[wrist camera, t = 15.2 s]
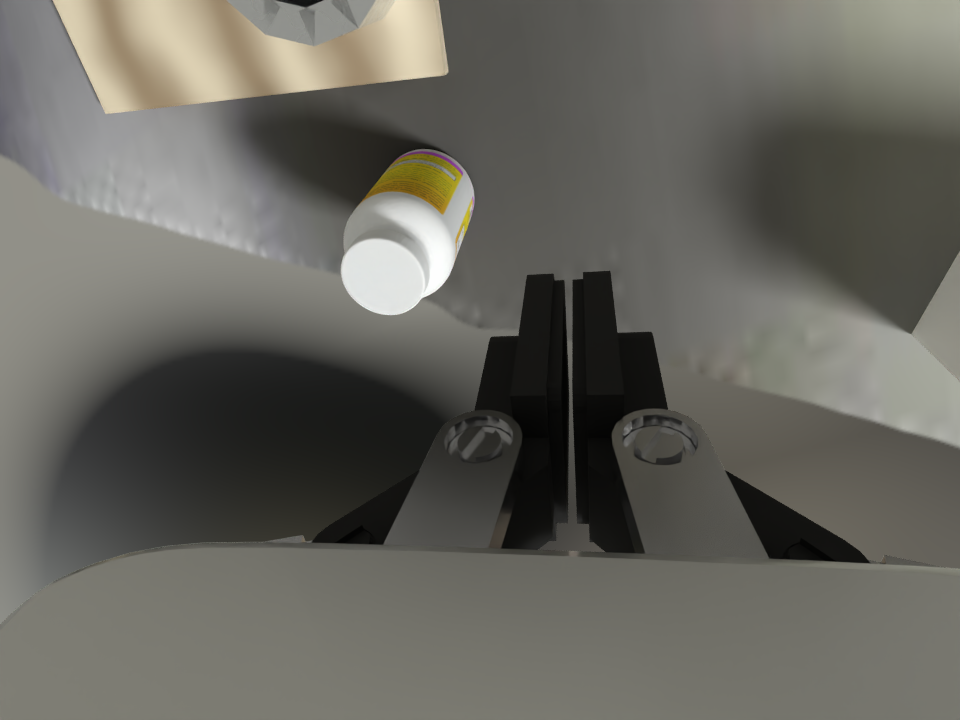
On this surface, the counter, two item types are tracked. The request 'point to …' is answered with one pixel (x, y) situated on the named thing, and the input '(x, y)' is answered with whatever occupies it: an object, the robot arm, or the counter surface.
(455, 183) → the supplement bottle
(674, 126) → the counter surface
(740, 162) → the counter surface
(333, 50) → the birch board
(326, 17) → the lens barrel
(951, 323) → the milk
